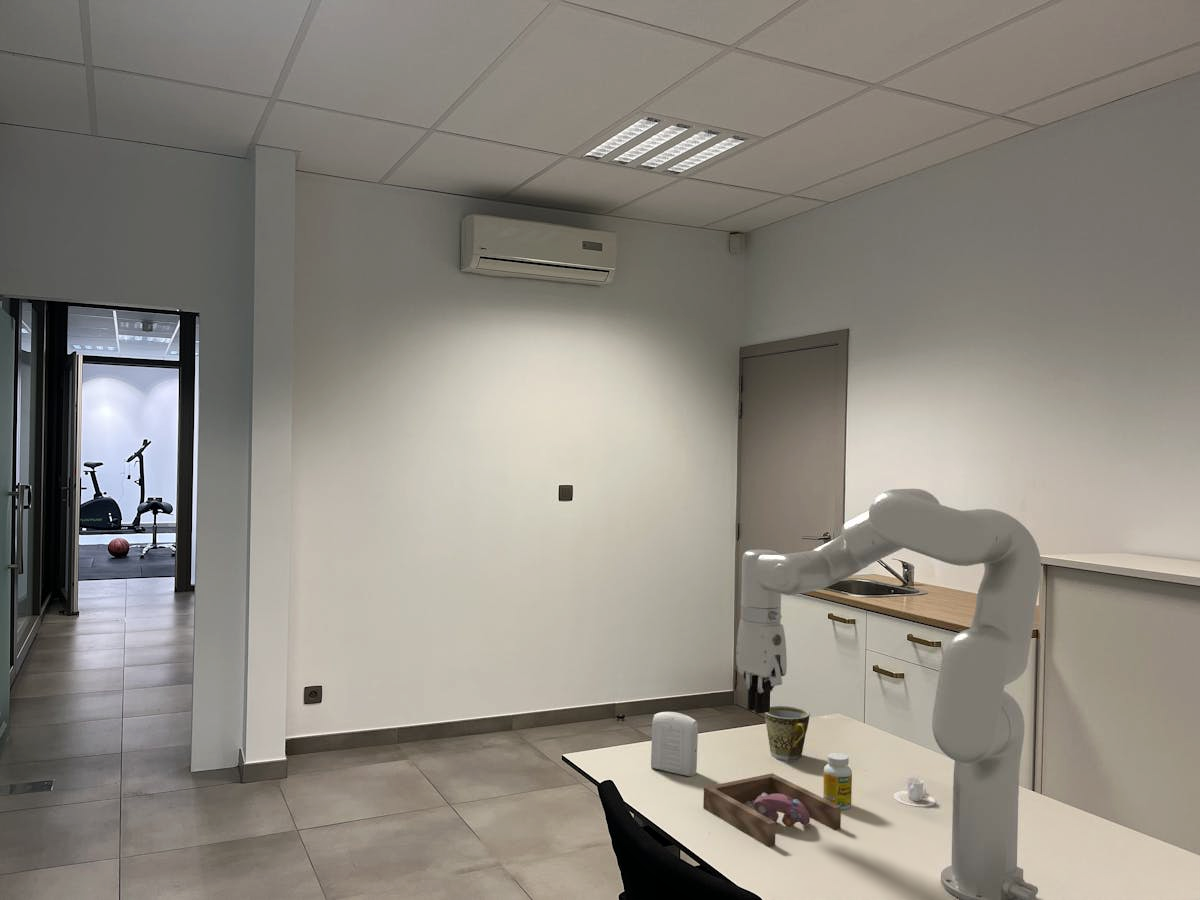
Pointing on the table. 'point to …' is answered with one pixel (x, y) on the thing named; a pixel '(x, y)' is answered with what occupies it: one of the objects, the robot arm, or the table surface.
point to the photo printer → (674, 743)
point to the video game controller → (782, 809)
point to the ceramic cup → (786, 731)
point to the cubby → (730, 808)
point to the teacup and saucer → (915, 793)
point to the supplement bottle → (838, 780)
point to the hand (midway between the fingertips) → (758, 710)
